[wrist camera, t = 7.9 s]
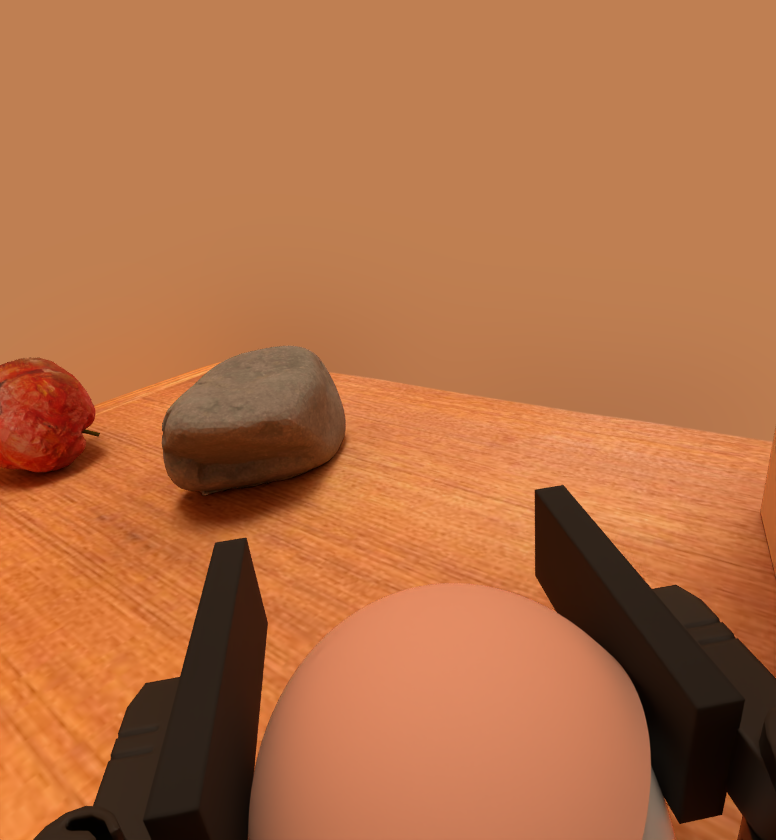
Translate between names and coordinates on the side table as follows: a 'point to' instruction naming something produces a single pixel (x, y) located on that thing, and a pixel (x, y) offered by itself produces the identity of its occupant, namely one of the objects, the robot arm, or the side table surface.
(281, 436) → the stone
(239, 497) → the side table surface
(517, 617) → the toy ball
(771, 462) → the stand
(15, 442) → the pomegranate
